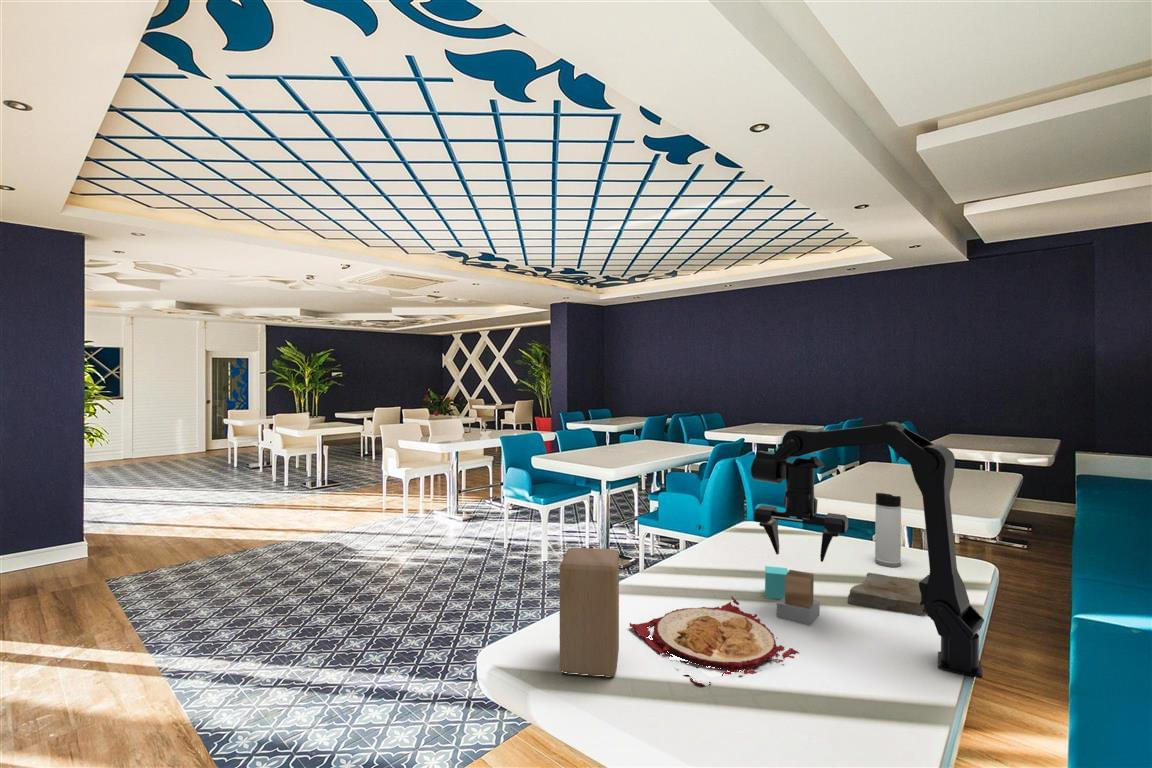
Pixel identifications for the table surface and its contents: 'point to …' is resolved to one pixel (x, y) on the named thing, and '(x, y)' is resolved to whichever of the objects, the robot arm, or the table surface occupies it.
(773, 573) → the teal cube
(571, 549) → the block
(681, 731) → the table surface
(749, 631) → the plate with food
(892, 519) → the travel mug
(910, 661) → the table surface
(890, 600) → the marble piece
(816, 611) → the grey slab
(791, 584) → the walnut cube
